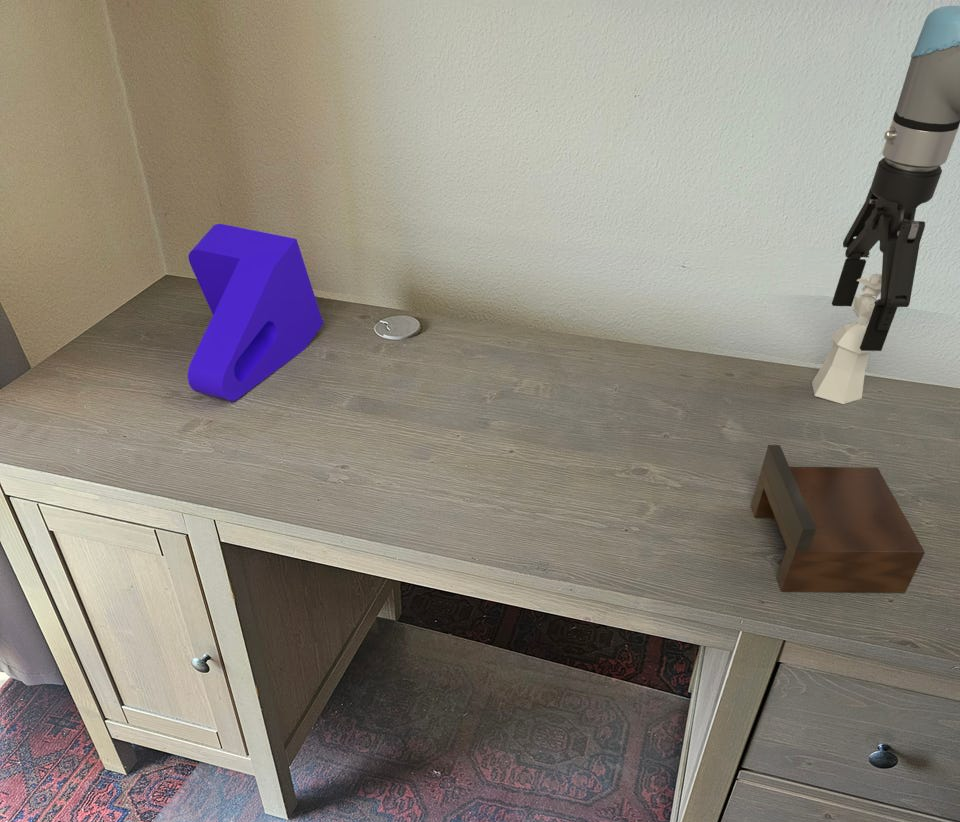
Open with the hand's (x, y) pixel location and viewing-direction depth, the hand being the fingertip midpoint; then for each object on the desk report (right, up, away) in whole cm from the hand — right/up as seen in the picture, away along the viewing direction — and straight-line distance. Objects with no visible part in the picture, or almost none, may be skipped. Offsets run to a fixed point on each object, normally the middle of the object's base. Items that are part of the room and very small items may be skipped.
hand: (855, 326), depth 121 cm
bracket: (-91, -1, +14) cm, 92 cm away
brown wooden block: (-12, -33, -19) cm, 40 cm away
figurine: (0, -7, +7) cm, 10 cm away
